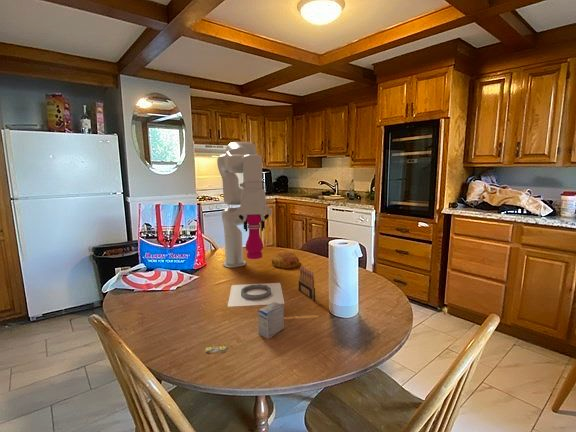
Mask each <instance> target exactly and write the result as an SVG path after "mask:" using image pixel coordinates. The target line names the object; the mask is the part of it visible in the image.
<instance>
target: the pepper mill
mask: <svg viewBox="0 0 576 432" xmlns="http://www.w3.org/2000/svg"><path fill="white" fill-rule="evenodd" d="M261 219H262V218H261V216H260V215H247V218H246V221H247V223H248V224H247V230H248V237H247V241H246V242H245V247H244V248H245V250H246V251H247V253H246V258H247V259H249V260H260V259H262V258H263V252H262V251H263V249H264V243H263V241H262V240H263V239H262V238H261V236H260V228H261Z"/></svg>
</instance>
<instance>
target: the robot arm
mask: <svg viewBox="0 0 576 432" xmlns="http://www.w3.org/2000/svg"><path fill="white" fill-rule="evenodd" d="M216 161H217V162H216V163H217V168H218V169H217V170H218V172H219V175H220V176H221V179H222V193H223V194H222V195H223V196H222V197H223V202H224V204H225V205H227V206H239V207H228V208H225V209H223V210H222V212H221V218H222V219H221V221H222V223H223V224H222V225H223V234H224V251H225V252H224V253H225V255H224V256H225V260H224V261H222V265H223V267H224V268H225V267H226V268H232V269H233V268H240V267H244V266H245V265H246V264H247V261H246V260H245V259H244V254H243V253H244V252H243V251H244V250H243V233H242V230H241V229H240V228H239V227H238V226H241V225H243V230H245V232H248V225H249V224H248V223H247V221H246V218H247V215H260V216H261V222H260V228H261V229H260V230H261V232H264V229H266V228H265V226H266V225H265V223H266V220H267V219H268V218H269V217H270V216H271V215H272V214H273V210H272V209H271V208H270V207H269V206H268V205H267V196H266V191H265V189H263V157H262V156H261V155H260V154H257V147H256V145H255V144H254V143H253V142H250V141H233V142H230V143H229V144H228V145H227V146H226V148H225V154H220V155H219V156H218V157H217V160H216ZM237 174H242V175H243V176H242V177H243V178H242V179H243V180H242V181H243V182H241V183H240V182H239V177H238V175H237Z"/></svg>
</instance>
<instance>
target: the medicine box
mask: <svg viewBox="0 0 576 432" xmlns="http://www.w3.org/2000/svg"><path fill="white" fill-rule="evenodd" d="M284 316H285V306H284V304H279V303H276V302H273V303H271V304H269V305H264V307H262V308H259V309H258V311H257V318H258V322H257V323H258V324H257V326H258V335H260V336H262V337H263V338H265V339H270V338H271V337H273V336H274V335H277V333H280V331H283V330H284V329H285V317H284Z"/></svg>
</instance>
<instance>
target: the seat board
mask: <svg viewBox="0 0 576 432" xmlns="http://www.w3.org/2000/svg"><path fill="white" fill-rule="evenodd" d="M258 284H260V285H267V286H268V287H270V288H271V295H270V296H269V297H267V298H264V299H261V300H249V299H245V298H243V297H242V296H241V289H243V288H244V287H246V286H250V285H258ZM266 292H267V291H266V290H262V289H252V290H249V291H247V292H245V293H246V294H250V295H260V294H264V293H266ZM283 295H284V294H283V289H282V285H281V282H272V283H271V282H270V283H251V284H250V283H249V284H232V285H231V287H230V293H229V297H228V301H227V302H228V303H227V307H226V308H229V307H233V308H234V307H248V306H249V307H250V306H267V305H269V304H271V303H273V302H276V303H279V304H281V305H284V304H285V299H284V296H283Z"/></svg>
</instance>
